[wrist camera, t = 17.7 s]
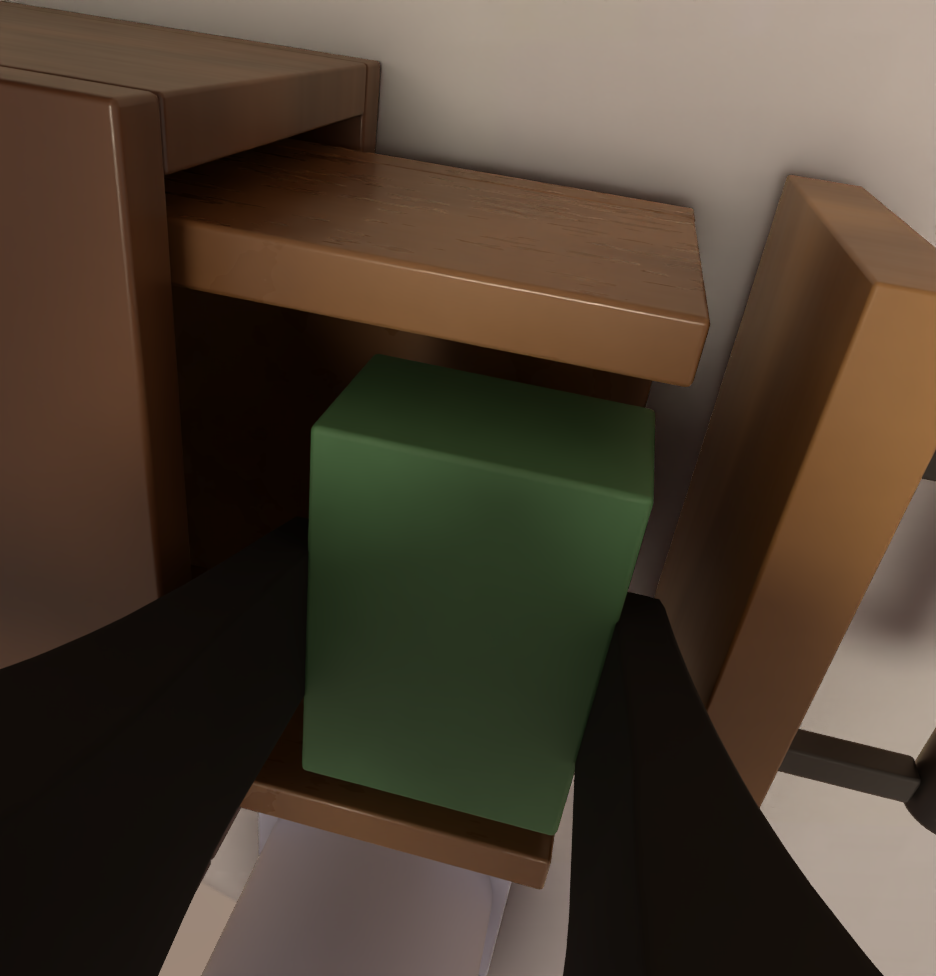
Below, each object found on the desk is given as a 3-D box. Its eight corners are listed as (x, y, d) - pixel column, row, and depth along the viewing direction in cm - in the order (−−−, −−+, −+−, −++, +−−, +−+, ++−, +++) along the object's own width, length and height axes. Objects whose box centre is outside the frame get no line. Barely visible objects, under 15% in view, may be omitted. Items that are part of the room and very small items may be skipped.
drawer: (1182, 239, 12) (1587, 408, 7) (885, 748, 18) (977, 1051, 13) (82, 55, 14) (-267, 77, 9) (138, 567, 20) (-51, 763, 15)
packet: (572, 716, 14) (555, 839, 12) (353, 661, 14) (299, 771, 12) (656, 407, 11) (655, 500, 9) (374, 350, 11) (308, 426, 9)
